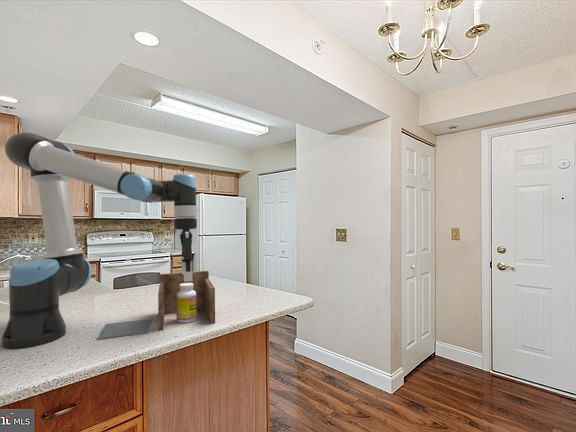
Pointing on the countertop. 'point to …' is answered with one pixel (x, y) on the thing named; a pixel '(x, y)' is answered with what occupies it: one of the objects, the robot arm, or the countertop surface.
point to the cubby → (171, 288)
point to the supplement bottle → (186, 303)
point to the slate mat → (125, 329)
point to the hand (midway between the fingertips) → (187, 277)
